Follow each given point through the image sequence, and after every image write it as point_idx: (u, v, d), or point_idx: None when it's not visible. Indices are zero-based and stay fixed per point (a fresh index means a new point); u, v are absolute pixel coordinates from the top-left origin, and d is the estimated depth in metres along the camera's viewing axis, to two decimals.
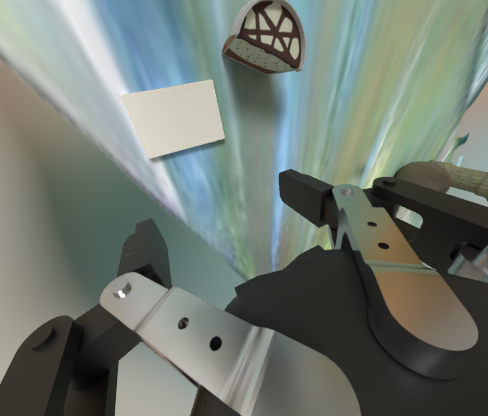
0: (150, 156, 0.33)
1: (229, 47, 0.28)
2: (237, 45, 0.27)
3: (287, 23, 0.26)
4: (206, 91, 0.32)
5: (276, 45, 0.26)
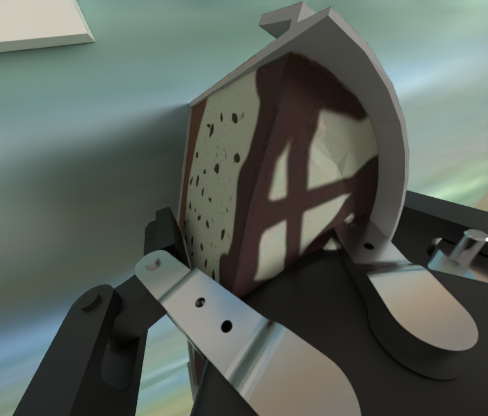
0: None
1: (208, 100, 0.07)
2: (221, 118, 0.06)
3: None
4: None
5: None
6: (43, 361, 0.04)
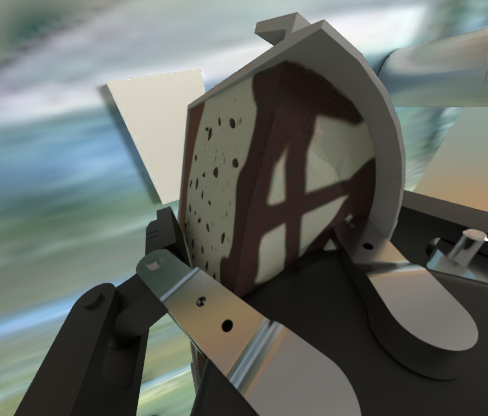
0: (112, 86, 0.19)
1: (206, 103, 0.07)
2: (219, 123, 0.06)
3: None
4: None
5: None
6: (46, 358, 0.04)
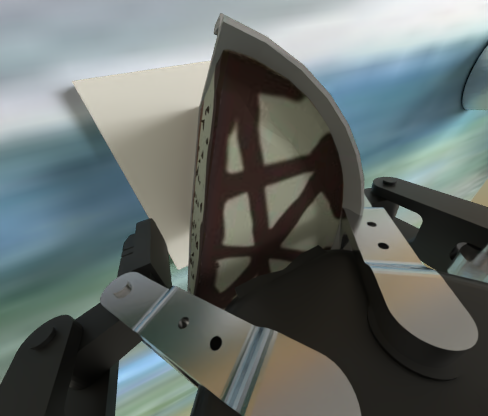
0: (84, 90, 0.10)
1: (204, 100, 0.08)
2: (205, 113, 0.07)
3: None
4: None
5: (229, 267, 0.06)
6: None
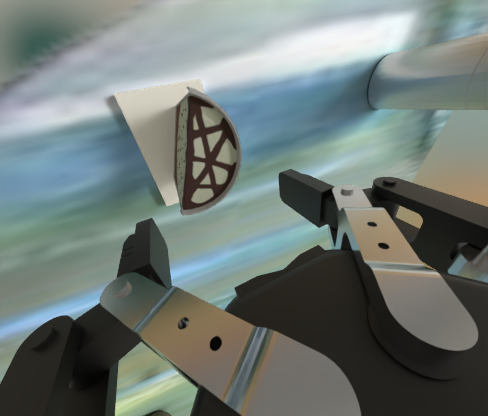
0: (119, 97, 0.20)
1: (180, 104, 0.20)
2: (183, 110, 0.18)
3: (223, 175, 0.20)
4: None
5: (197, 166, 0.18)
6: None
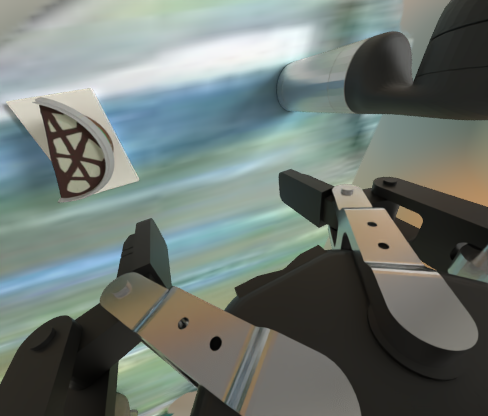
0: (11, 104, 0.24)
1: None
2: None
3: (95, 169, 0.24)
4: (125, 175, 0.34)
5: (63, 161, 0.22)
6: None
